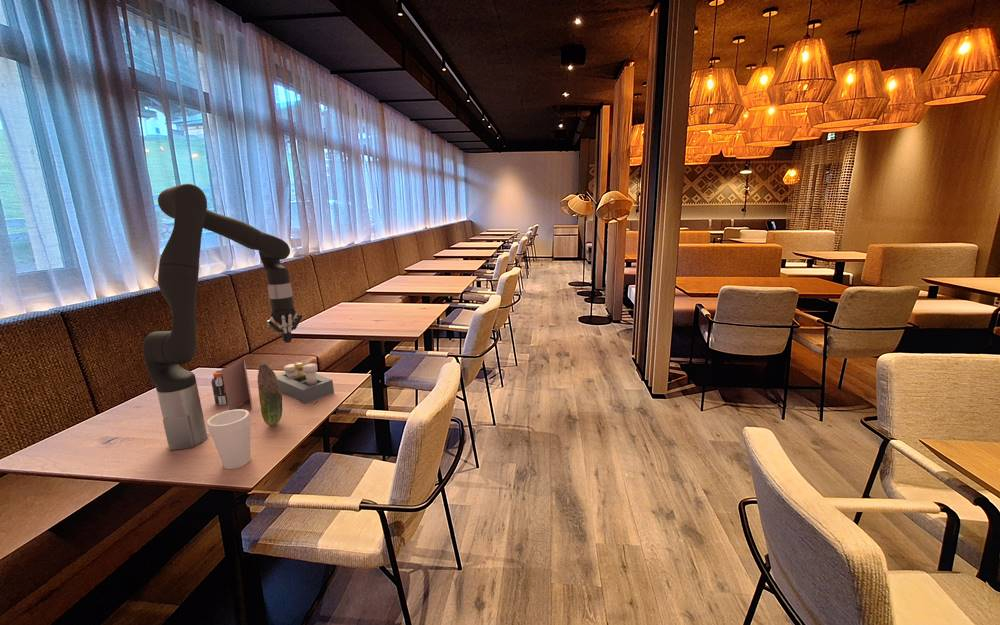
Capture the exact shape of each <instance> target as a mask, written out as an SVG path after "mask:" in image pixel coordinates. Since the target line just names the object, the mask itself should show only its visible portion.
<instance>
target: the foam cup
mask: <svg viewBox="0 0 1000 625" xmlns="http://www.w3.org/2000/svg"><path fill="white" fill-rule="evenodd" d="M206 425H207V430H208V433H209V434H210V435H211V438H212V440H213V442H214V446H215V448H216V451H217V454H218V456H219V458H220V461H221V462H220V463H221V464H222V467H223V468H224V469H227V470H234V469H238V468H241V467H244V466H245V465H247V464H248V463H250V462H251V461H250V460H251V457H252V456H251V454H252V453H251V416H250V412H249V411H248V410H246V409H243V408H241V409H239V408H238V409H237V408H235V409H234V410H229V409H228V410H225V411H221V412H219V413H217V414H214V415H213V416H210V418H208V420H207V421H206Z"/></svg>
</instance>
